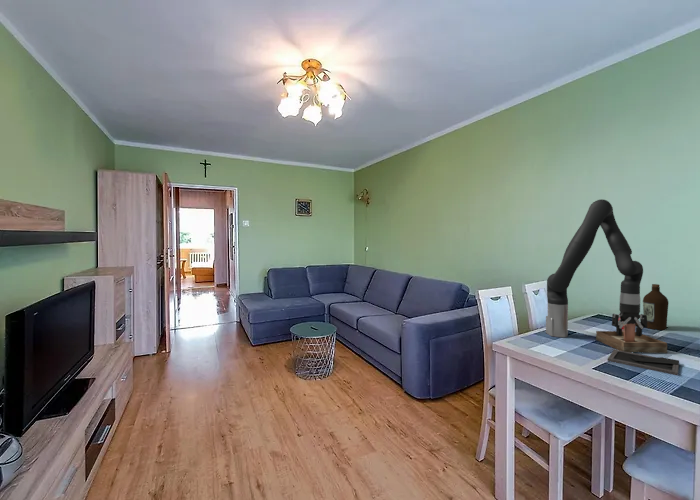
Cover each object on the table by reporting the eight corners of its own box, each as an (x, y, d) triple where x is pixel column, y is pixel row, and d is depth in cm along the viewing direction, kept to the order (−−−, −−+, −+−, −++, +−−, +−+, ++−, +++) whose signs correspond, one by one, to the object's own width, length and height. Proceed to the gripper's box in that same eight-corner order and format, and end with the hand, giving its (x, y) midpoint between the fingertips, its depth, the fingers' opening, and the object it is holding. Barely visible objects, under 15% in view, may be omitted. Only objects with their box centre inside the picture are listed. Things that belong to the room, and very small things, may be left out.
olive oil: (656, 325, 189) (656, 283, 188) (673, 330, 179) (674, 285, 178) (637, 325, 190) (638, 283, 189) (653, 330, 179) (654, 285, 178)
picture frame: (679, 365, 133) (614, 352, 148) (679, 360, 133) (614, 348, 148) (677, 377, 122) (607, 362, 138) (677, 371, 122) (607, 357, 138)
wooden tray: (623, 352, 147) (623, 342, 147) (596, 339, 165) (596, 331, 165) (666, 352, 145) (667, 343, 145) (634, 340, 164) (634, 331, 164)
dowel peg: (627, 347, 154) (628, 324, 153) (621, 344, 158) (621, 322, 157) (636, 347, 153) (637, 324, 153) (630, 344, 157) (630, 322, 157)
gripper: (619, 303, 151) (618, 337, 152) (652, 304, 150) (651, 338, 151) (608, 300, 159) (607, 333, 159) (639, 301, 157) (638, 333, 158)
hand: (629, 335), depth 155 cm, fingers open, 8 cm apart
